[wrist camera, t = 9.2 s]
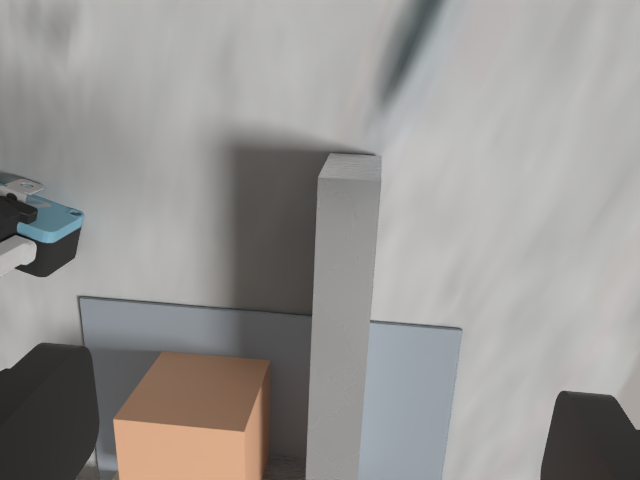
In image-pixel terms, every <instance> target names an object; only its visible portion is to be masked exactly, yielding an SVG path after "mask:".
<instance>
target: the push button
mask: <svg viewBox="0 0 640 480" xmlns="http://www.w3.org/2000/svg"><path fill="white" fill-rule="evenodd" d="M22 184H26V185H30V186H32V187H31V188H28V187H23V186H21V185H22ZM43 189H44V186H43V185H41V184H38V183H35V182H32V181H30V180H27V179H18V180H15V181H12V182H9V183H7V184H5V185H4V184H2V183H0V276H2V275H3V274H5V273H7V272H8V271H10V270H12V269H13V268H15V269H18V270H20V271H23V272H26V273H29V274H31V275H34V276H37V277H47V276H49V275H50V274H52V273H53V272H54V271H56V270H57V269H59V268H60V267H62V266H63V265H65V264H66V263H68V262H69V261H71V260H72V259H74V258H75V255H76V250H77V245H78V240H79V235H80V230H81V225H82V221H83V216H84V214H83V213H82V212H80V211H78V210H75V209H73V208H72V209H70V208H68V207H65V206H62V205H59V204H57V203H54V202H51V201H48V200H46V199H43V198H40V197H37V196H35V195H32V194H34V193H36V192H38V191H41V190H43Z"/></svg>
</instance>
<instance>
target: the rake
mask: <svg viewBox="0 0 640 480" xmlns="http://www.w3.org/2000/svg"><path fill="white" fill-rule="evenodd" d="M380 191H381V156H372V155H356V154H339V153H330V154H329V156H328V158H327V160H326V162H325V164H324V166H323V168H322V170H321V172H320V174H319V176H318V189H317V213H316V237H315V262H314V286H313V311H312V335H311V359H310V384H309V408H308V433H307V456H298V455H288V454H279V453H270V452H269V456H268V459H267V463H266V466H265V470H264V474H263V477H262V480H358V469H359V456H360V444H361V431H362V418H363V406H364V393H365V380H366V368H367V355H368V342H369V330H370V317H371V305H372V292H373V279H374V267H375V254H376V241H377V229H378V216H379V203H380Z"/></svg>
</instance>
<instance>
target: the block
mask: <svg viewBox="0 0 640 480" xmlns="http://www.w3.org/2000/svg"><path fill="white" fill-rule="evenodd" d="M113 423H114V432H115V442H116V451H117V461H118V470H119V480H262V477H263V474H264V470H265V466H266V463H267V459H268V456H269V452H270V360H261V359H249V358H237V357H226V356H214V355H202V354H190V353H178V352H167V351H162V353H161V354H160V355H159V357H158V358H157V360H156V361H155V362H154V364H153V365H152V366H151V368H150V369H149V371H148V372H147V373H146V375H145V376H144V377H143V379H142V380H141V382H140V383H139V384H138V386H137V387H136V388H135V390H134V391H133V393H132V394H131V395H130V397H129V398H128V399H127V401H126V402H125V404H124V405H123V406H122V408H121V409H120V410H119V412H118V413H117V415H116V416H115V417H114V419H113Z"/></svg>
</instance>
